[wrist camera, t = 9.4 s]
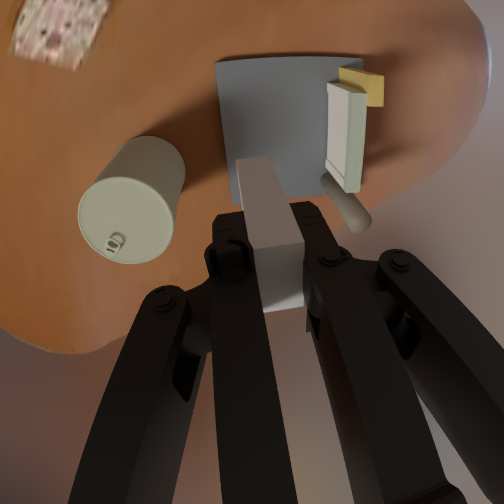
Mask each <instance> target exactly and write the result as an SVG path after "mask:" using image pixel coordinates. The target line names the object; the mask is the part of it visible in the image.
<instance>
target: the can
mask: <svg viewBox="0 0 504 504" xmlns="http://www.w3.org/2000/svg"><path fill="white" fill-rule="evenodd" d="M185 175H186V170H185V164H184V161H183V158H182V156H181V154H180V153H179V151H178V150H177V149H176V148H175V147H174V146H173V145H172V144H171V143H169V142H168V141H166V140H164V139H161V138H159V137H155V136H140V137H136V138H133V139H131V140H129V141H127V142H126V143H124V144H123V145H122V146H121V147H120V148H119V149H118V150H117V152H116V153H115V155H114V157H113V159H112V160H111V161H110V163H109V164H108V165H107V166H106V168H105V169H104V170H103V171H102V173H101V174H100V175H99V176H98V178H97V179H96V180H95V181H94V183H93V184H92V185H91V186H90V187H89V188H88V189H87V190H86V192H85V193H84V194H83V196H82V198H81V200H80V203H79V207H78V223H79V227H80V230H81V232H82V234H83V236H84V238H85V240H86V241H87V242H88V244H89V245H90V246H91V247H92V248H93V249H94V250H95V251H97V252H98V253H99V254H101V255H102V256H104V257H106V258H108V259H110V260H113V261H116V262H119V263H125V264H138V263H144V262H147V261H150V260H152V259H154V258H156V257H158V256H159V255H160V254H162V253H163V252H164V251H165V250H166V248H167V247H168V246H169V244H170V242H171V240H172V238H173V234H174V228H175V217H176V212H177V206H178V201H179V197H180V192H181V189H182V187H183V184H184V181H185Z"/></svg>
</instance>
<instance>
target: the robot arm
mask: <svg viewBox="0 0 504 504" xmlns="http://www.w3.org/2000/svg"><path fill="white" fill-rule="evenodd" d="M236 167H237V174H238V181H239V188H240V195H241V203H242V210H243V211H240V212H233V213H226V214H220V215H217V217H216V218H215V220H214V221H213V223H212V232H213V234H212V239H213V243H211V244H210V245H209V246H208V247H207V248H206V250H205V253H204V257H205V261H206V265H207V269H208V273H209V276H210V277H209V278H208V279H207V280H206V281H205V282H204V283H202V284H201V285H199V286H197V287H195V288H193V289H190V290H188V291H185V292H184V290H182V289H181V288H180V287H178V286H173V285H167V286H161V287H159V288H156V289H154V290H153V291H151V292H150V293H149V294H148V295H147V296H146V297H145V299H144V300H143V302H142V304H141V306H140V309H139V311H138V313H137V315H136V318H135V320H134V322H133V324H132V327H131V329H130V331H129V333H128V336H127V338H126V340H125V343H124V345H123V348H122V350H121V352H120V355H119V357H118V359H117V362H116V364H115V367H114V369H113V372H112V374H111V377H110V379H109V382H108V384H107V387H106V389H105V392H104V395H103V397H102V400H101V402H100V405H99V408H98V411H97V413H96V416H95V419H94V422H93V424H92V428H91V430H90V433H89V436H88V439H87V442H86V445H85V448H84V451H83V454H82V457H81V460H80V463H79V466H78V470H77V473H76V476H75V480H74V483H73V487H72V490H71V494H70V497H69V501H68V504H172V500H173V495H174V491H175V486H176V481H177V477H178V473H179V469H180V464H181V460H182V456H183V451H184V447H185V443H186V438H187V434H188V430H189V426H190V422H191V418H192V414H193V409H194V405H195V401H196V397H197V393H198V389H199V385H200V380H201V377H202V373H203V369H204V364H205V361H206V356H207V353H208V352H211V351H212V363H213V384H214V402H215V418H216V432H217V445H218V459H219V470H220V481H221V492H222V502H223V504H298V500H297V495H296V489H295V484H294V479H293V473H292V467H291V462H290V456H289V450H288V445H287V440H286V434H285V428H284V423H283V417H282V412H281V406H280V401H279V395H278V390H277V384H276V378H275V373H274V368H273V363H272V356H271V351H270V346H269V340H268V334H267V329H266V324H265V318H264V312H271V311H277V310H283V309H289V308H295V307H301V306H304V299H305V302H306V305H307V320H306V332H310V331H311V335H312V338H313V342H314V345H315V349H316V352H317V356H318V359H319V363H320V367H321V370H322V374H323V378H324V382H325V385H326V389H327V393H328V397H329V401H330V404H331V408H332V412H333V416H334V420H335V424H336V428H337V432H338V436H339V439H340V444H341V448H342V452H343V456H344V460H345V465H346V469H347V473H348V477H349V481H350V486H351V490H352V495H353V499H354V503H355V504H467V502H466V499H465V497H464V495H463V494H462V492H461V491H460V490H459V489H458V488H457V487H455V486H453V485H452V484H450V483H449V482H448V481H447V479H446V477H445V474H444V471H443V468H442V465H441V462H440V458H439V456H438V452H437V450H436V447H435V443H434V440H433V438H432V435H431V432H430V429H429V426H428V423H427V421H426V418H425V415H424V413H423V410H422V407H421V405H420V402H419V400H418V397H417V394H418V395H419V397H420V398H421V399H422V401H423V402H424V404H425V405H426V407H427V408H428V409H429V411H430V412H431V414H432V415H433V417H434V418H435V419H436V421H437V423H438V424H439V425H440V427H441V428H442V430H443V431H444V433H445V434H446V436H447V437H448V439H449V440H450V442H451V443H452V445H453V446H454V448H455V449H456V451H457V452H458V454H459V455H460V457H461V459H462V460H463V462H464V463H465V465H466V466H467V468H468V470H469V471H470V473H471V474H472V476H473V477H474V479H475V480H476V482H477V484H478V485H479V487H480V488H481V490H482V491H483V493H484V494H485V496H486V497H487V498H488V499H489V500H490V501H491V502H492V503H493V504H504V349H503V348H502V347H501V345H500V344H499V343H498V342H497V341H496V340H495V339H494V337H493V336H492V335H491V334H490V333H489V332H488V330H487V329H486V328H485V327H484V326H483V325H482V324H481V323H480V321H479V320H478V319H477V318H476V317H475V316H474V315H473V314H472V313H471V312H470V311H469V310H468V309H467V307H465V305H464V304H463V303H462V302H461V301H460V300H459V299H458V298H457V297H456V296H455V295H454V294H453V293H452V292H451V291H450V290H449V289H448V288H447V287H446V286H445V285H444V284H443V283H442V282H441V281H440V280H439V279H438V278H437V277H436V276H435V275H434V274H433V273H432V272H431V271H430V270H429V269H428V268H427V267H426V266H425V265H424V264H423V263H422V262H421V261H419V260H418V259H417V258H416V257H415V256H414V255H412V254H411V253H409V252H407V251H404V250H401V249H391V250H386V251H385V252H383V253H382V254H381V256H380V258H379V261H369V260H361V259H356V258H353V257H352V255H351V254H350V252H349V251H348V250H347V249H345V248H343V247H341V246H338V244H337V242H336V240H335V238H334V236H333V234H332V232H331V230H330V229H329V227H328V225H327V223H326V221H325V219H324V217H322V214H321V212H320V210H319V208H318V207H317V206H316V205H314V204H313V203H311V202H310V201H305V202H297V203H289V202H288V200H287V198H286V195H285V193H284V191H283V188H282V186H281V184H280V181H279V179H278V177H277V174H276V172H275V170H274V167H273V165H272V163H271V161H270V158H269V156H260V157H252V158H245V159H238V160H236ZM415 391H416V392H417V394H416V392H415Z"/></svg>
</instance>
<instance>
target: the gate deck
mask: <svg viewBox="0 0 504 504" xmlns="http://www.w3.org/2000/svg"><path fill="white" fill-rule="evenodd" d="M215 71H216V80H217V88H218V96H219V104H220V112H221V120H222V128H223V135H224V143H225V151H226V158H227V166H228V174H229V181H230V189H231V196H232V203H233V205H238V204H242V203H241V195H240V188H239V181H238V174H237V167H236V160H238V159H245V158H252V157H260V156H269V158H270V161H271V163H272V165H273V167H274V170H275V172H276V174H277V177H278V179H279V181H280V184H281V186H282V188H283V191H284V193H285V195H286V198H287V199H288V198H297V197H307V196H316V195H327V194H328V195H329V197H330V198H331V200H332V201H333V203H334V205H335V206H336V208H337V209H338V211H339V212H340V214H341V215H342V217H343V219H344V220H345V222H346V223H347V225H348V226H349V228H350V229H351V231H352V232H354V233H363V232H365V231H366V230H367V229H368V228H369V227H370V226H371V222H372V218H371V216H370V215H369V213H368V212H367V211H366V209H365V208H364V207H363V205H362V204H361V203H360V202H359V200H358V199H357V198H356V196H355V195H354V194H353V193H345V191H344V190H343V189H342V187H341V186H340V185H339V183H338V182H337V181H336V180H335V178H334V177H333V176H332V175H331V173H330V172H329V171H328V170H327V168H326V167H325V163H326V158H327V142H328V93H327V83H341V84H343V85H346V86H349V87H352V88H354V89H357V90H359V91H362V92H364V93H367V106H370V107H383V100H384V76H382V75H379V74H375V73H371V72H367V71H364V59H362V58H352V57H331V56H286V57H265V58H251V59H240V60H230V61H222V62H215Z"/></svg>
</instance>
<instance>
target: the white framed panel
mask: <svg viewBox="0 0 504 504" xmlns="http://www.w3.org/2000/svg"><path fill="white" fill-rule="evenodd" d="M327 93H328V142H327V158H326V163H325V167H326V168H327V170H328V171H329V172H330V173H331V175H332V176H333V177H334V178H335V180H336V181H337V182H338V183H339V185H340V186H341V187H342V189H343V190H344V191H345V193H356V192H360V184H361V174H362V164H363V154H364V141H365V128H366V111H367V93H364V92H362V91H359V90H357V89H354V88H352V87H349V86H346V85H343V84H341V83H327Z"/></svg>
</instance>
